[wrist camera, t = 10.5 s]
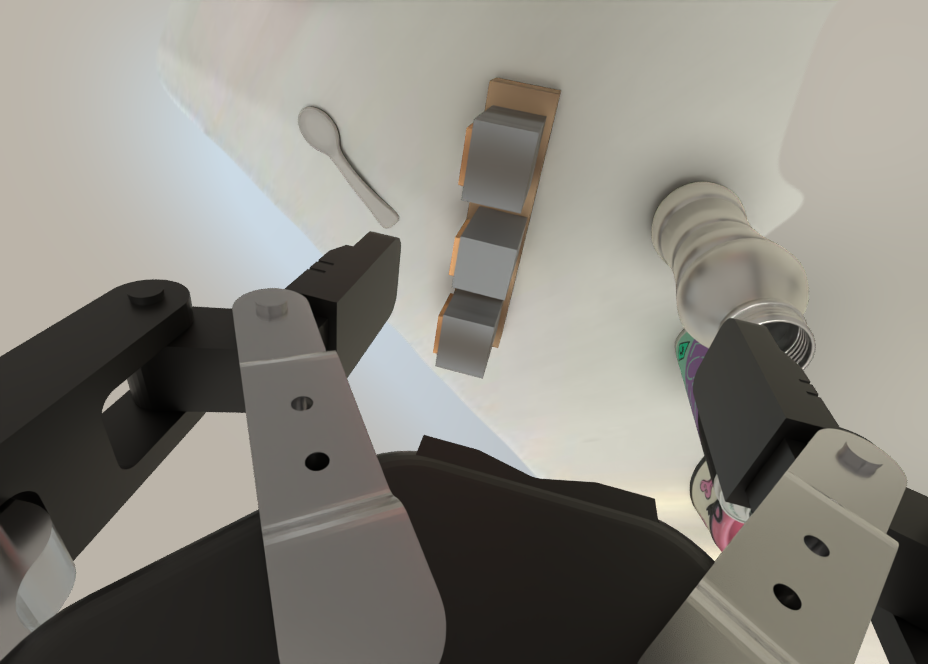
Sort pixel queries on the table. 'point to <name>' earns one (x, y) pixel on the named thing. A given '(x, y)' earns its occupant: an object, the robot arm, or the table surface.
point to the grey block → (487, 252)
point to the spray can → (689, 362)
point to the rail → (495, 208)
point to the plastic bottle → (730, 269)
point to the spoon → (342, 161)
